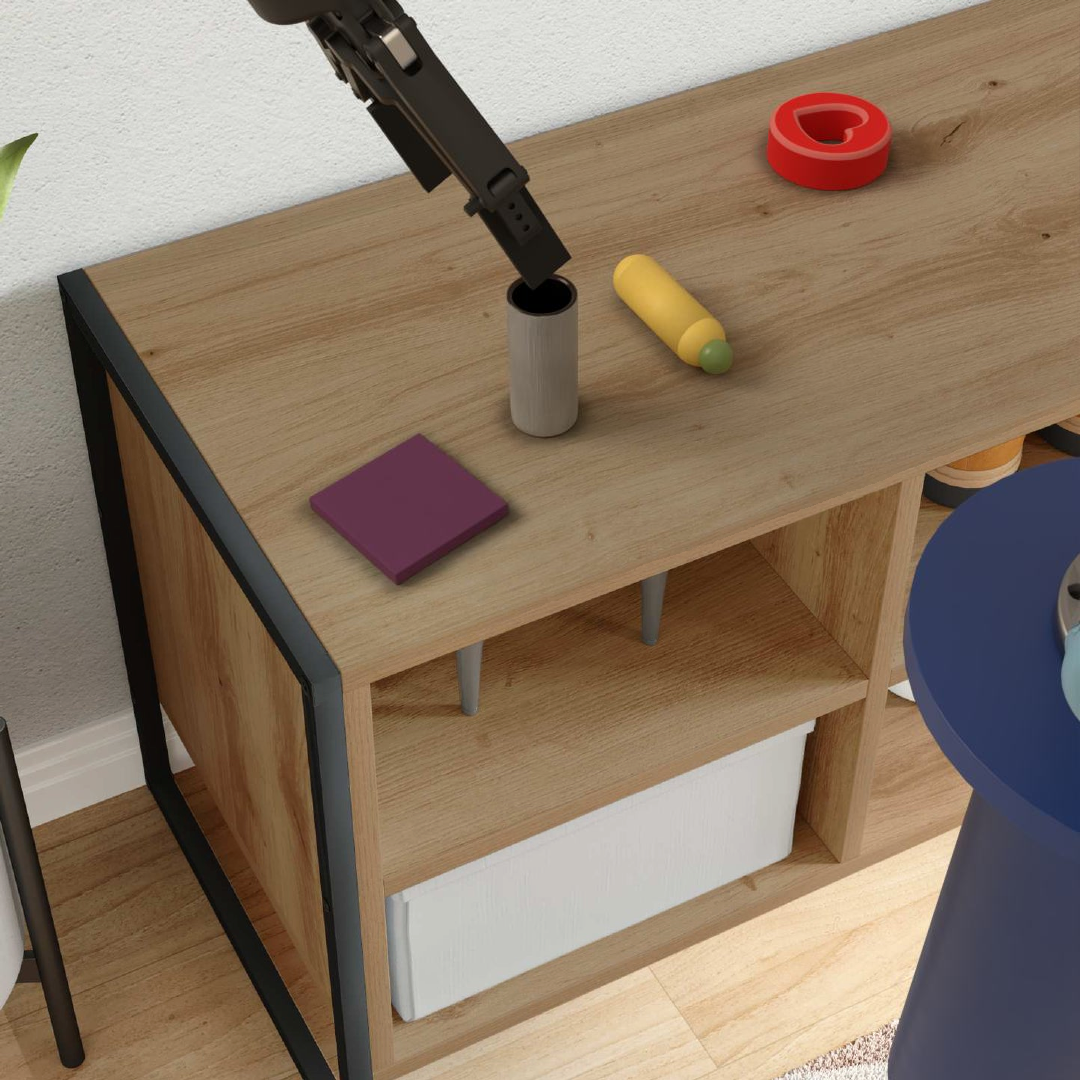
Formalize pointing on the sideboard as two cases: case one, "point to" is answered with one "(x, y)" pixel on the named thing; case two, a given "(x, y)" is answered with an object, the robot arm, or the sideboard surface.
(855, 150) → the decorative ornament
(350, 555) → the sideboard surface
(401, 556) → the cloth
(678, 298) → the corn
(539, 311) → the grey hollow cylinder
